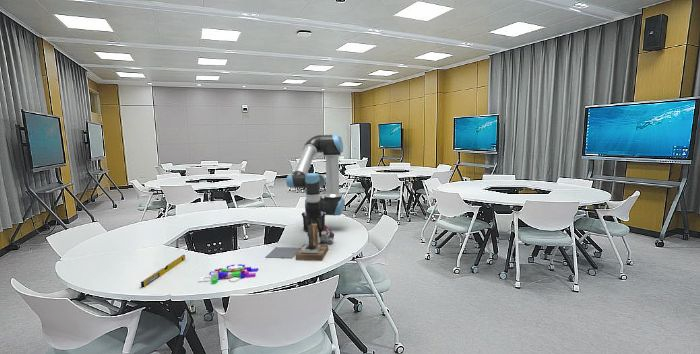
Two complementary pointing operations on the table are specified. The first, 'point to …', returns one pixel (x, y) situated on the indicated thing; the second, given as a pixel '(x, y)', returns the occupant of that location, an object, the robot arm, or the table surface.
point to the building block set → (230, 273)
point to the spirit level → (162, 271)
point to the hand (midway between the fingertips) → (314, 242)
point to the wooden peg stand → (312, 256)
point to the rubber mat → (283, 252)
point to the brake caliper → (326, 236)
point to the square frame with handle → (315, 242)
